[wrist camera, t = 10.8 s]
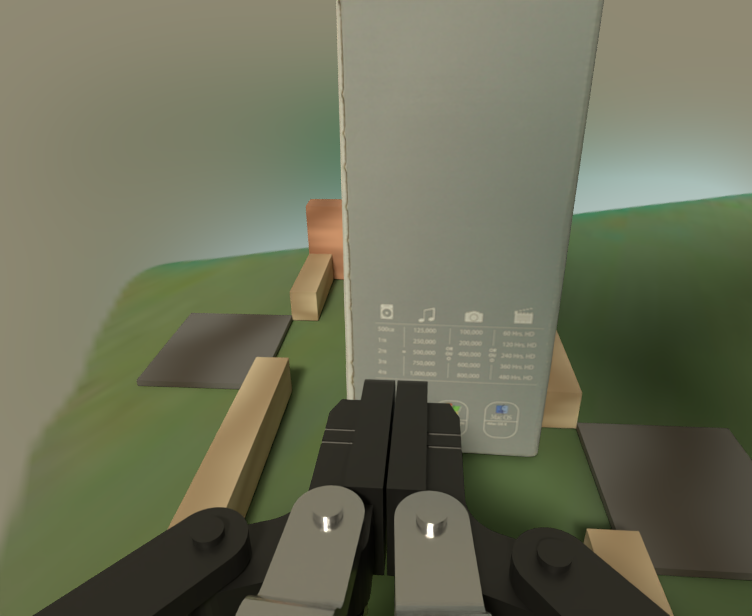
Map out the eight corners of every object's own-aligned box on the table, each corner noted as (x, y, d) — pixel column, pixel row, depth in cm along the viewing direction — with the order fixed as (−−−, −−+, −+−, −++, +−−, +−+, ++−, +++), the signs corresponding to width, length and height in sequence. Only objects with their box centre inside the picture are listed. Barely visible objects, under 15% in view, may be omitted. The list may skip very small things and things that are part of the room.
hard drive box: (543, 465, 22) (643, -208, 13) (347, 453, 23) (313, -188, 14) (506, 293, 36) (541, -90, 27) (384, 290, 37) (379, -84, 28)
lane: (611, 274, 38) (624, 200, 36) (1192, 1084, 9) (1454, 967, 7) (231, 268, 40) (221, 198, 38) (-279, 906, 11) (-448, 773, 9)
